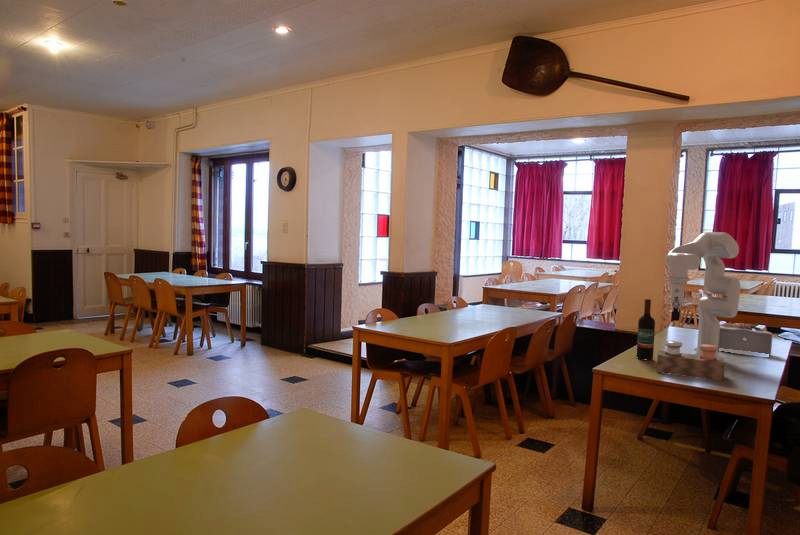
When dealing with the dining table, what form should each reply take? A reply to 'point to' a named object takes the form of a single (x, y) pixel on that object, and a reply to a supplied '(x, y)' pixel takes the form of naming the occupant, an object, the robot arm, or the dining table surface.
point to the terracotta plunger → (708, 351)
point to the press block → (691, 365)
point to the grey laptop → (754, 342)
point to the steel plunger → (673, 348)
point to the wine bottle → (646, 333)
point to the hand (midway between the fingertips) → (675, 319)
